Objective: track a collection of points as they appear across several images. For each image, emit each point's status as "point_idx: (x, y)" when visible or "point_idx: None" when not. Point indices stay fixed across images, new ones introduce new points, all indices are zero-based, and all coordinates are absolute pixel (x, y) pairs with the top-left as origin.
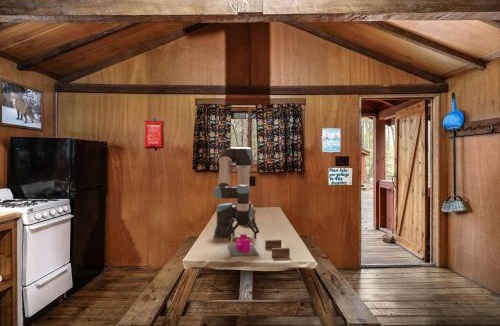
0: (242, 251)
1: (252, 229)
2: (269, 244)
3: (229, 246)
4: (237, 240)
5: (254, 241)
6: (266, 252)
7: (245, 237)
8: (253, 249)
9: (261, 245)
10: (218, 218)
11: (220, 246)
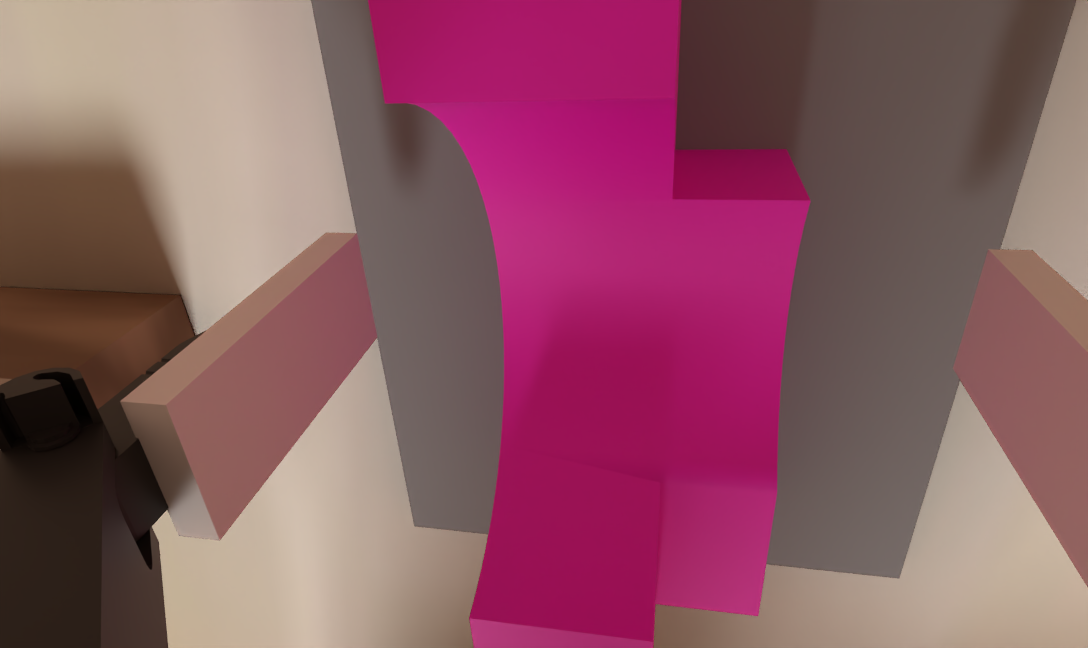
0: (687, 67)
1: (37, 588)
2: (54, 332)
3: (898, 502)
4: (757, 517)
5: (283, 271)
6: (129, 32)
7: (521, 558)
8: (401, 209)
9: (277, 488)
10: None
11: (1051, 591)
